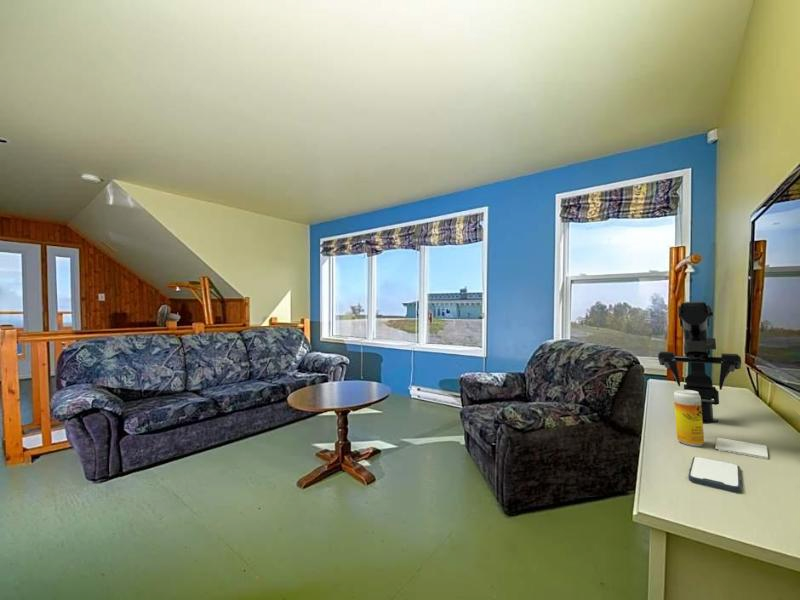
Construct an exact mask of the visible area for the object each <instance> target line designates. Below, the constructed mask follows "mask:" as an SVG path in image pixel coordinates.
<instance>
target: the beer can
mask: <svg viewBox="0 0 800 600" xmlns="http://www.w3.org/2000/svg"><path fill="white" fill-rule="evenodd" d="M673 398H674V399H673V401H674V411H675V412H674V415H675V427H676V428H675V429H676V430H675V431H676V439H677V440H678V441H679V442H681V443H680V444H682V443H683V444H682V445H685V444H686V445H685V446H690V447H701V445H702V446H703V445H704V444H705V435H704V423H703V421H702V408H701V396H700V395H699V392H697V391H693V390H684V389H675V390H674V393H673Z"/></svg>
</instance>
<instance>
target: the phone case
mask: <svg viewBox="0 0 800 600" xmlns="http://www.w3.org/2000/svg"><path fill="white" fill-rule="evenodd" d="M688 471H689V473H688V476H687V477H688V481H689V482H690V481H691V483H693V484H696V485H701V486H706V487H708V488H714V489H717V490H722V491H726V492H731V493H736V494H740V493H741V492H742V479H741V469H740V466H739V465H737V464H735V463H730V462H726V461H722V460H721V461H720V460H718V459H717V460H716V459H712V458H711V459H710V458H705V457H700V456H693V458H692V461H691V465H690V468H689V469H688Z"/></svg>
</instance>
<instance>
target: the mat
mask: <svg viewBox="0 0 800 600" xmlns="http://www.w3.org/2000/svg"><path fill="white" fill-rule="evenodd" d="M714 449H715V450H716V449H718V450H717V451H720V450H723V451H722V452H726V451H728V452H727V453H731V452H733V453H732V454H736V453H738V455H742V454H743V455H744V456H747V455H748V457H755V458H760V459H765V460H769V456H768V447H767V445H764V444H759V443H753V442H752V443H751V442H747V441H741V440H734V439H728V438H723V437H722V438H721V437H717V439H716V444H715V448H714ZM743 455H742V456H743Z"/></svg>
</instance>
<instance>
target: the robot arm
mask: <svg viewBox="0 0 800 600" xmlns="http://www.w3.org/2000/svg"><path fill="white" fill-rule="evenodd" d="M677 309H678V310H677V314H678V319H679V327H680V328H681V327H682V333H683V344H684V345H683V353H684V355H675V352H674V351H659V352H658V354H657V355H658V356H657V359H658V362H659V365H660V366H664V368H666V369H669V370H670V372H671V374H673V376H674V378H675V382H676V383H677V385H678V387H680V386H681V379H680V376H679V371H678V366H677V363H689V365H690V373H689V374H687V375H686V379H685V384H683V390H693V391H697V392H699V395H700V396H701V408H702V421H703V424H709V423H715V422H719V419H717V418H714V408H713V405H715V406H717V405H720V396H719V394H720V393H719V391H718V389H717V388H716V386H714V385H713V380H712V378H711V377H710V376H709V375H708V374H707V373H706V364H715V365H720V371H719V381H718V383H719V384H718V387H719V390H723V387H724V384H725V380H726V378H727V377H728V375H729V374H730V373H731V372H732V373H733V372H735V370H740V369H741V368H742V358H741V356H740V355H739V354H738V353H723V352H722V353H721V354H720V355H721V356H720V357H718V356H711V353H710V352H711V351H710V350H717V345H716V344H717V343H716V341H717V340H716V338H715V337H714V338H713V337H712V338H709V334H708V332H709V331H708V327H710V319H711V317H712V316H714V315H713V313H714V312H713V309H712V307H711V306H710V305H709V304H707V302H706V301H685V302H684V301H683V302H680V305H678V308H677Z"/></svg>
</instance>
